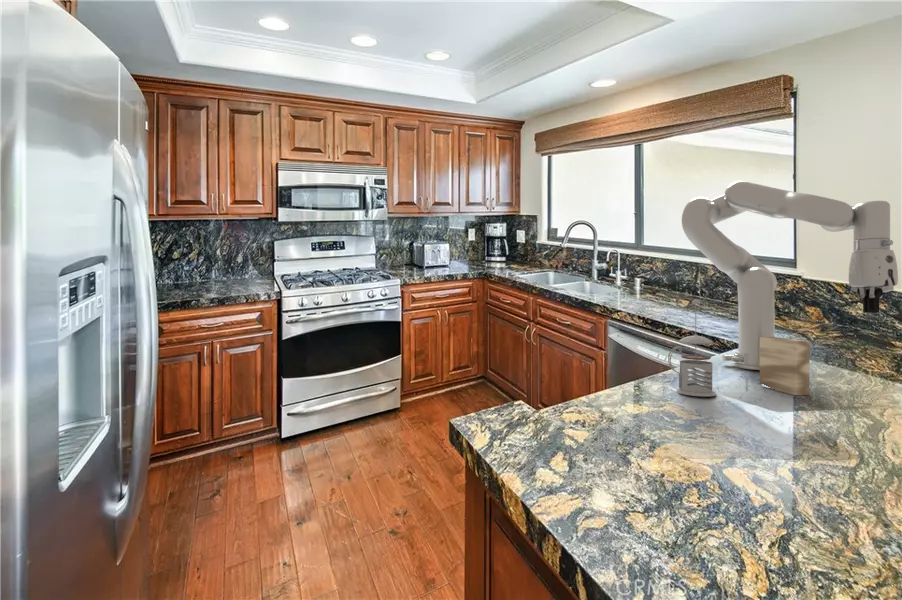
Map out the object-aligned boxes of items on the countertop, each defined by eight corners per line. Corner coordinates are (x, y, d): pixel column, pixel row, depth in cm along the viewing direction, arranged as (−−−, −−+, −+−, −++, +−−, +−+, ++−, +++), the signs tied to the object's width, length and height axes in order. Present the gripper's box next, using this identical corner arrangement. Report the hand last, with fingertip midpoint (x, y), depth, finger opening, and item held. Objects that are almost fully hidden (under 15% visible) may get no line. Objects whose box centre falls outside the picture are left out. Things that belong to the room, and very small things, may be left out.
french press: (722, 397, 117) (723, 299, 117) (673, 395, 120) (674, 299, 119) (709, 389, 127) (709, 299, 127) (664, 387, 129) (664, 299, 129)
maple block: (795, 395, 119) (795, 341, 119) (759, 386, 131) (759, 337, 131) (809, 394, 120) (809, 341, 119) (772, 385, 131) (772, 336, 131)
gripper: (913, 243, 121) (912, 313, 121) (857, 249, 136) (856, 311, 136) (887, 243, 120) (887, 313, 120) (834, 249, 135) (833, 311, 135)
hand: (871, 312), depth 128 cm, fingers closed
